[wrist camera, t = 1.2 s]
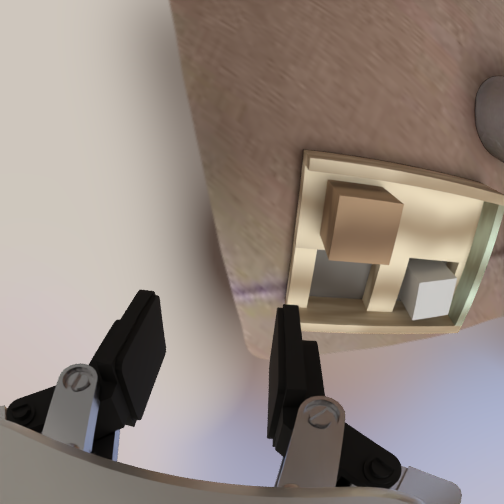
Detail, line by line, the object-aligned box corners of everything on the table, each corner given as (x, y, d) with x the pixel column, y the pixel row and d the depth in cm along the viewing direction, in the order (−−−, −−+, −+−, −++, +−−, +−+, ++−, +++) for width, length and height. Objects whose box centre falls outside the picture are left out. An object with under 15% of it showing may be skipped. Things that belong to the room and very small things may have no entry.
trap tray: (303, 149, 27) (310, 157, 22) (480, 182, 26) (507, 196, 22) (284, 300, 34) (286, 330, 29) (441, 307, 33) (458, 332, 29)
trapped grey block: (403, 260, 30) (419, 282, 26) (438, 257, 30) (457, 278, 26) (398, 296, 32) (412, 320, 28) (432, 291, 32) (448, 314, 28)
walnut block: (327, 179, 25) (339, 195, 21) (382, 186, 25) (403, 204, 21) (319, 234, 27) (328, 260, 23) (372, 239, 27) (389, 265, 23)
